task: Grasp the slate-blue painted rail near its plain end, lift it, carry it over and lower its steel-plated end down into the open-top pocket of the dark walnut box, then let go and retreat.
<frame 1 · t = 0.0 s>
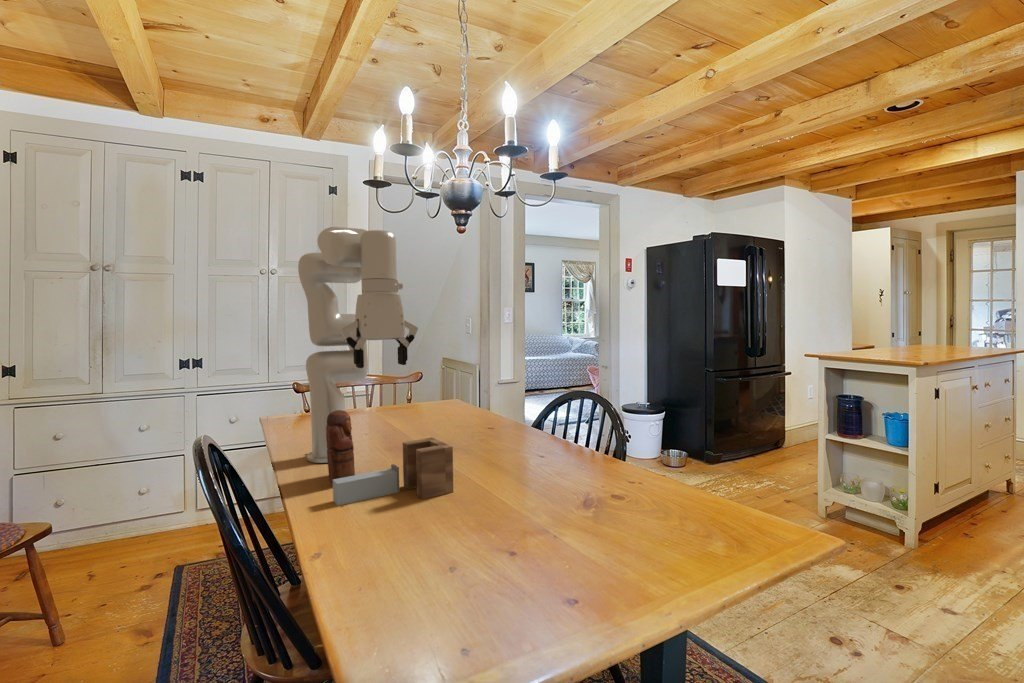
hand: (381, 365, 114), 31 cm above the table, fingers open, 9 cm apart
wooden figurine: (341, 480, 133), on the table
dark walnut box: (428, 489, 125), on the table
rail: (365, 496, 120), on the table
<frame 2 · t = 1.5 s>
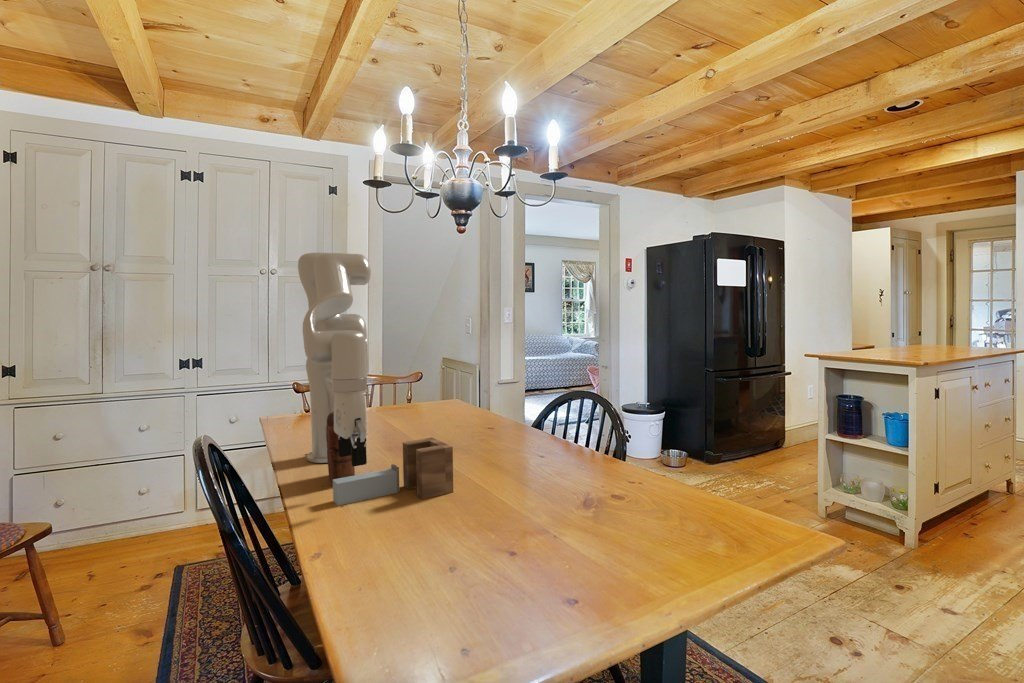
hand: (352, 460, 118), 9 cm above the table, fingers open, 9 cm apart
nothing on the table moved.
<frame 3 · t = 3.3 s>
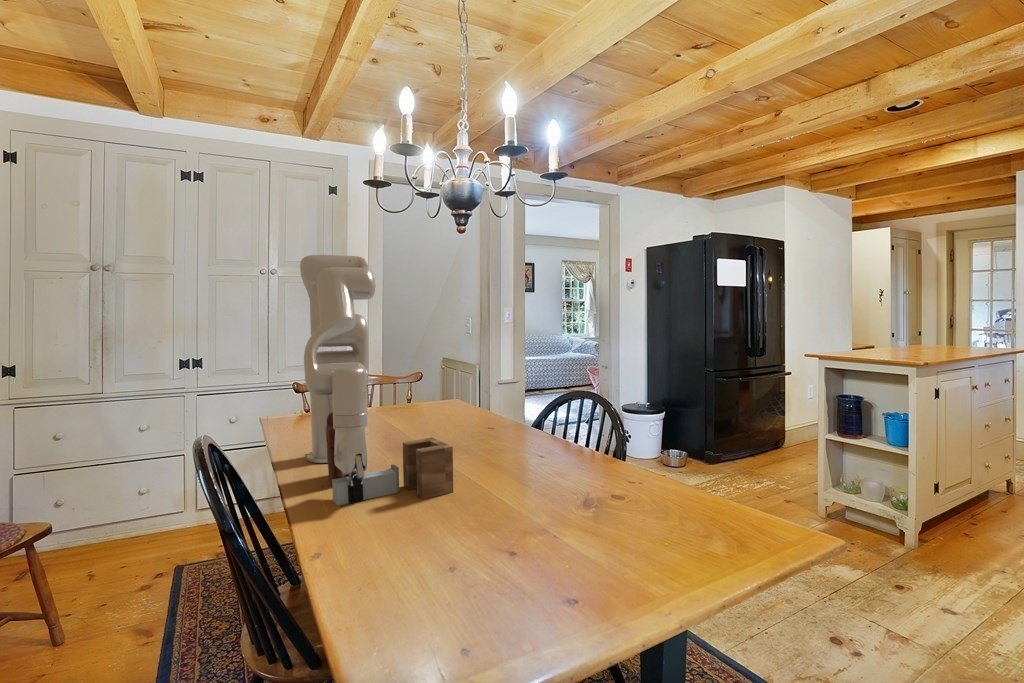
hand: (352, 498, 119), 0 cm above the table, fingers closed on rail, 3 cm apart
rail: (365, 496, 120), on the table, touching gripper
everything else where it was.
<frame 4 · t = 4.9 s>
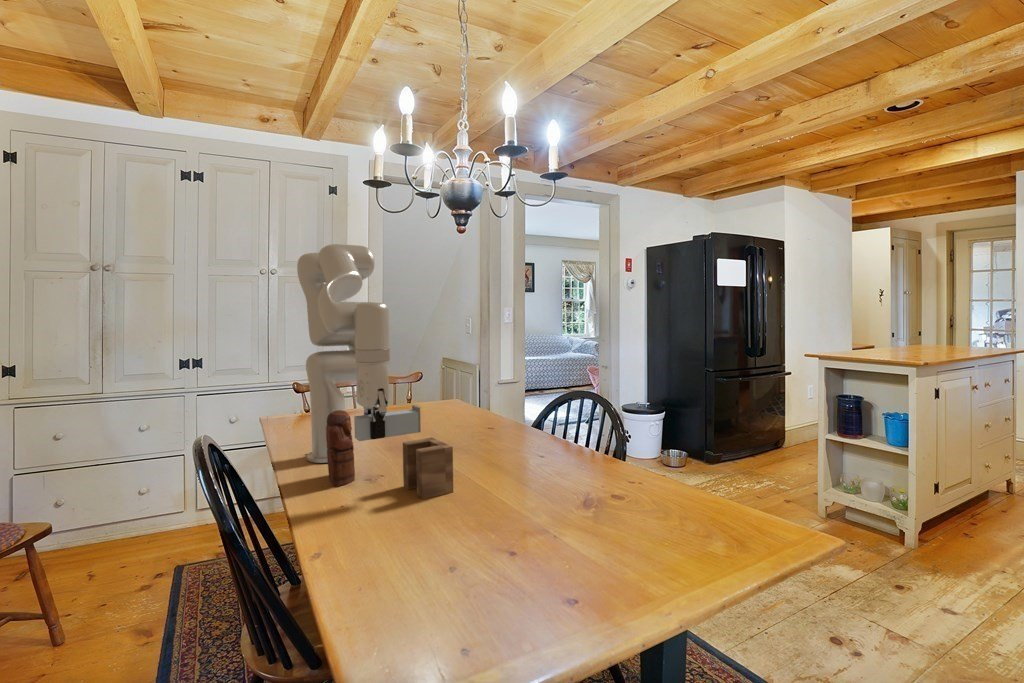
hand: (374, 435, 118), 15 cm above the table, fingers closed on rail, 3 cm apart
rail: (387, 435, 120), point 14 cm above the table, touching gripper
everything else where it was.
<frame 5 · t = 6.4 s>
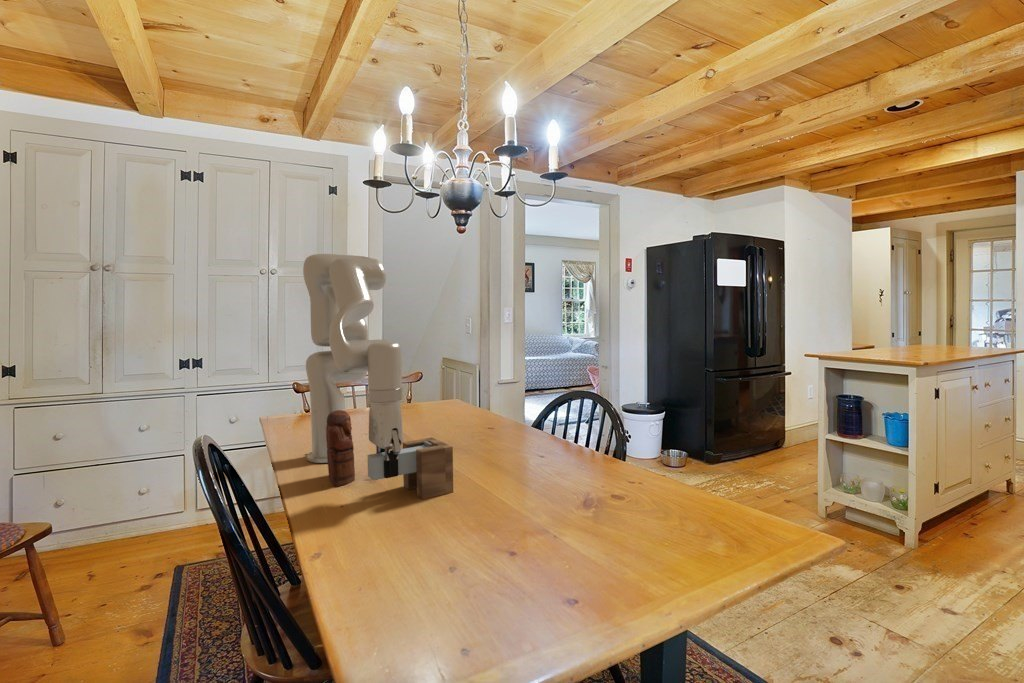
hand: (387, 473, 119), 6 cm above the table, fingers closed on rail, 3 cm apart
rail: (399, 472, 121), point 5 cm above the table, touching gripper
everything else where it was.
when the fingers open (4 cm above the table, at t = 7.0 s): rail drops 3 cm, on the table.
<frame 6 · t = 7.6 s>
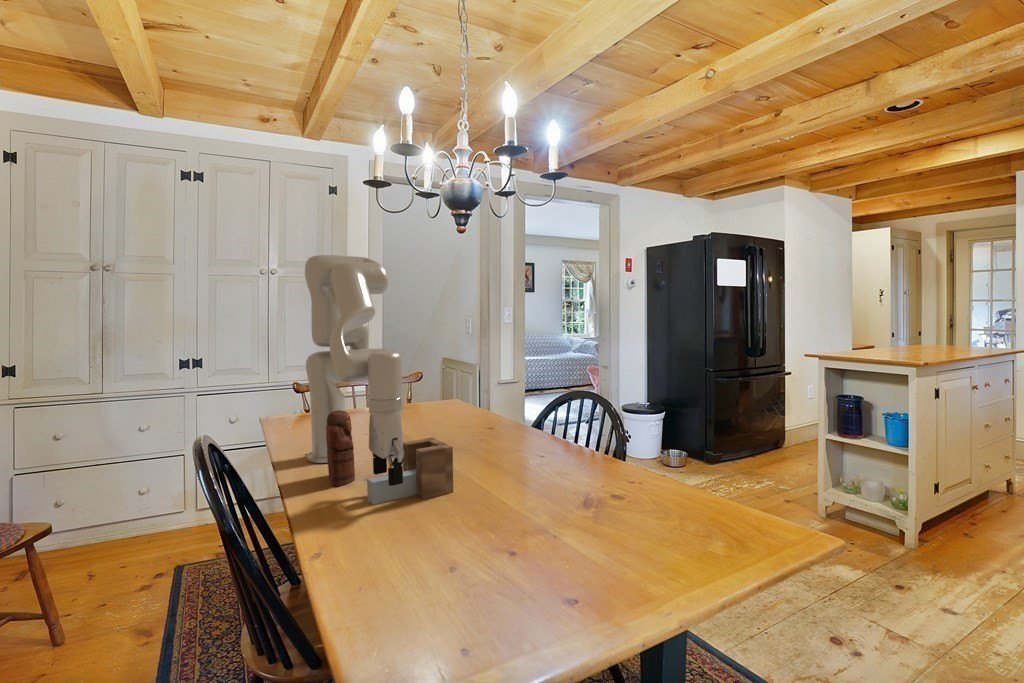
hand: (387, 478, 119), 5 cm above the table, fingers open, 9 cm apart
rail: (399, 495, 121), on the table
everything else where it was.
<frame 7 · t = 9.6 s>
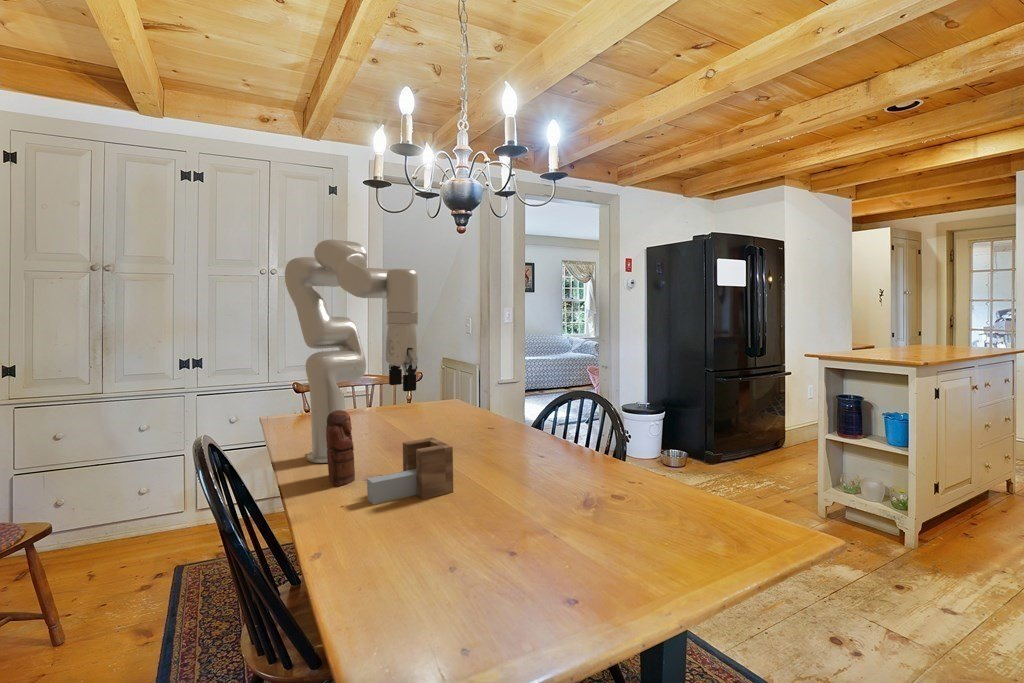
hand: (402, 387, 129), 24 cm above the table, fingers open, 9 cm apart
nothing on the table moved.
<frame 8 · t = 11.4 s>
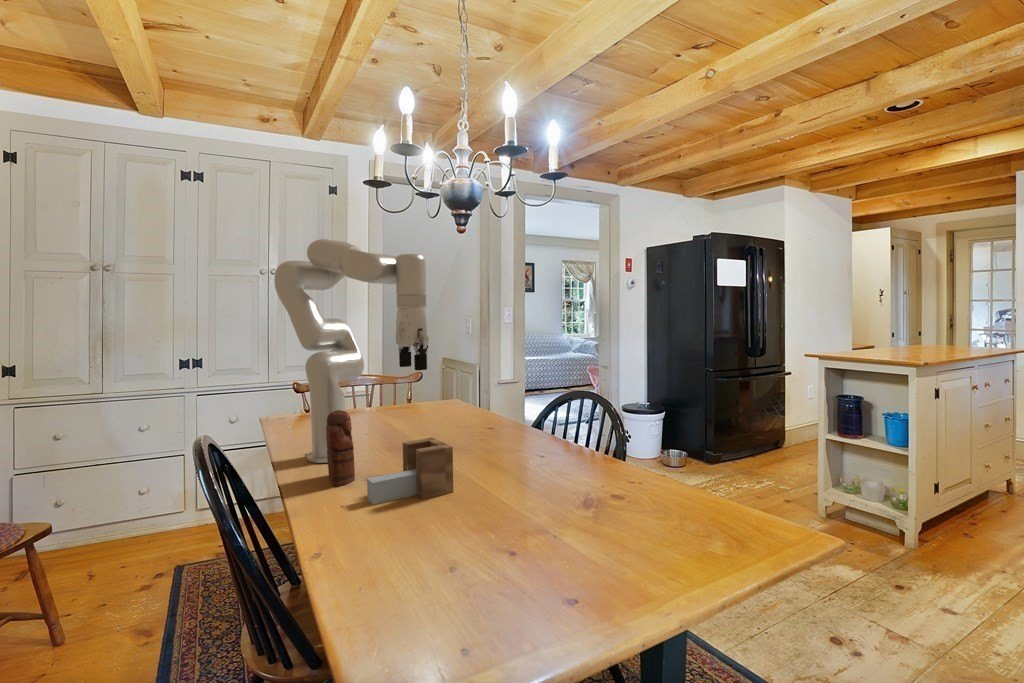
hand: (412, 368, 134), 28 cm above the table, fingers open, 9 cm apart
nothing on the table moved.
at the end: rail 0.2 cm from the target spot on the table beside the dark walnut box, on the table; rail tilted 0°; the gripper is holding nothing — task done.
